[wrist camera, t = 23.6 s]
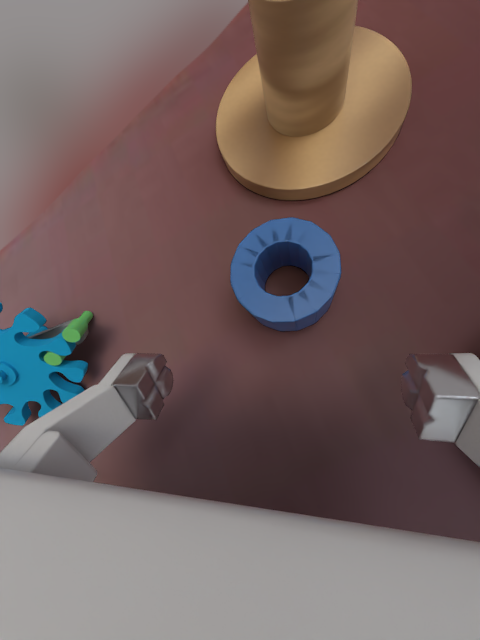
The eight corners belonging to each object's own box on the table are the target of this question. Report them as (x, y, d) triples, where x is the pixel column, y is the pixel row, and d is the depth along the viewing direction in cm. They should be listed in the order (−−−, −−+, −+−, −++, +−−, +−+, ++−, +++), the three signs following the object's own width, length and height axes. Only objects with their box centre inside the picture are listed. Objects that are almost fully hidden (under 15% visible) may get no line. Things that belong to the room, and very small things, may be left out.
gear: (-13, 449, 19) (-167, 348, 14) (32, 391, 24) (-68, 301, 19) (125, 396, 18) (18, 272, 13) (140, 348, 23) (67, 246, 18)
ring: (331, 241, 17) (337, 210, 13) (336, 329, 16) (344, 320, 12) (245, 251, 18) (231, 224, 15) (244, 332, 17) (229, 323, 14)
